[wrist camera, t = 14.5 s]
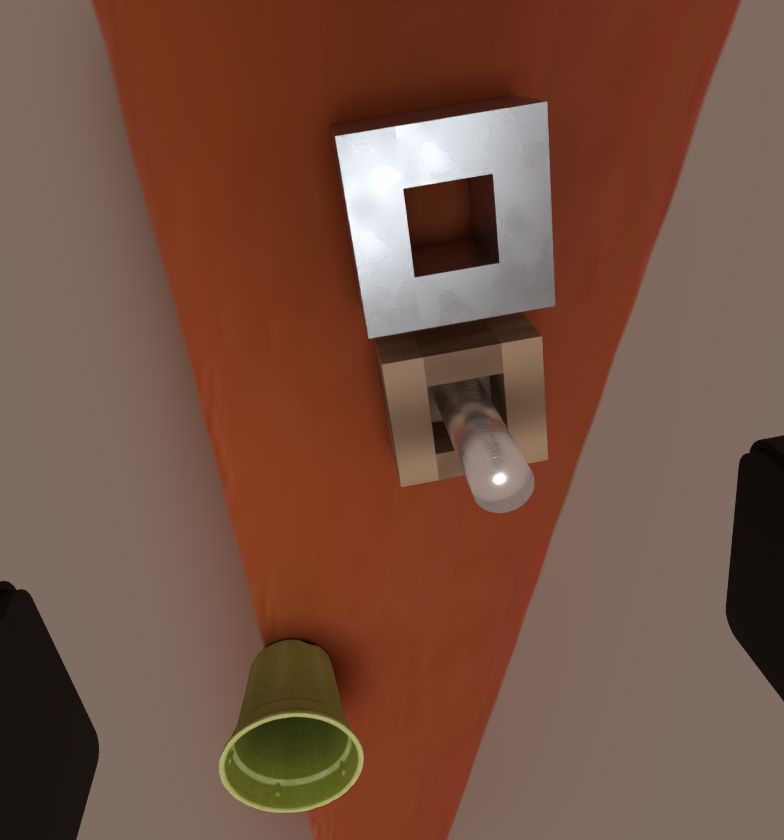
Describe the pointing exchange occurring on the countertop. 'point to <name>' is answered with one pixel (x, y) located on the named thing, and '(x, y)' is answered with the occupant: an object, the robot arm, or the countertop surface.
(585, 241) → the countertop surface
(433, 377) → the frame
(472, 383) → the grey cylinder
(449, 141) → the socket block
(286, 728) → the plant pot
